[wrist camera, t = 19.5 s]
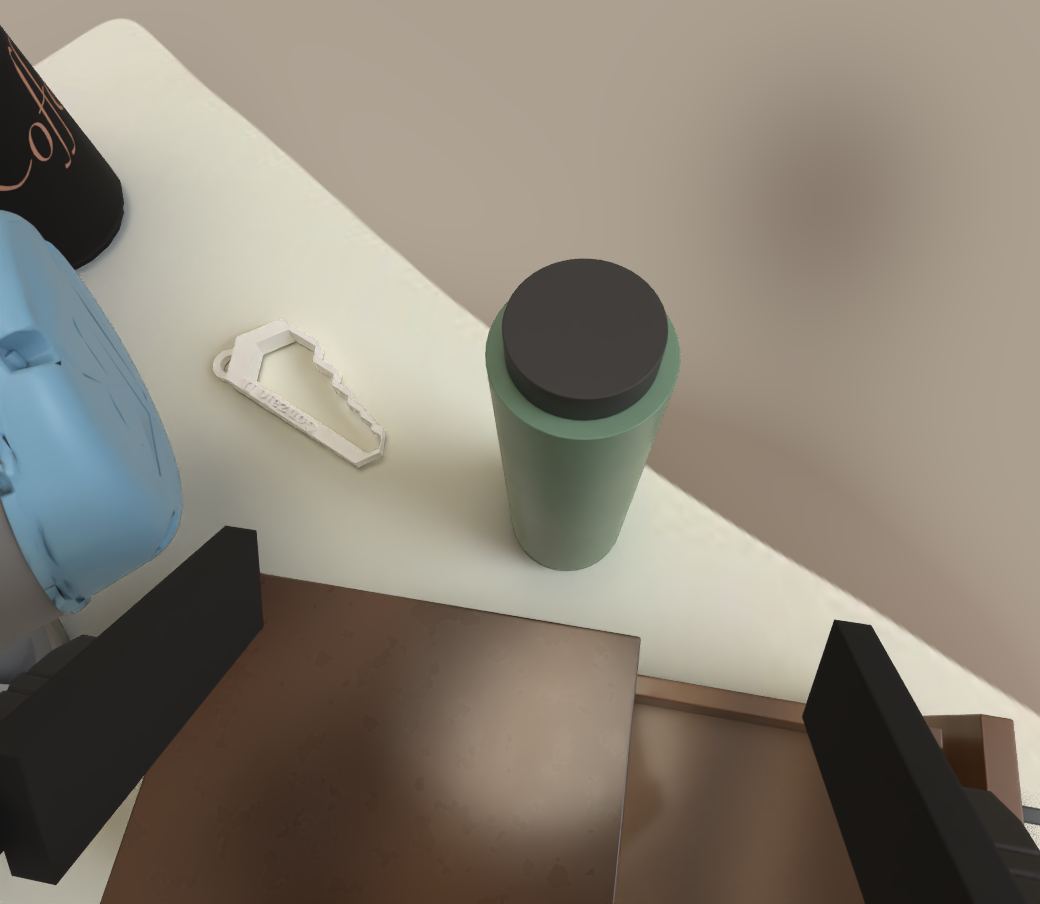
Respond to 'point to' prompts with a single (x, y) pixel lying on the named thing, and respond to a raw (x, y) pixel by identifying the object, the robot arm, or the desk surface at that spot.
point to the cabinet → (392, 762)
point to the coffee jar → (52, 165)
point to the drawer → (758, 798)
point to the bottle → (578, 403)
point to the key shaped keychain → (244, 379)
